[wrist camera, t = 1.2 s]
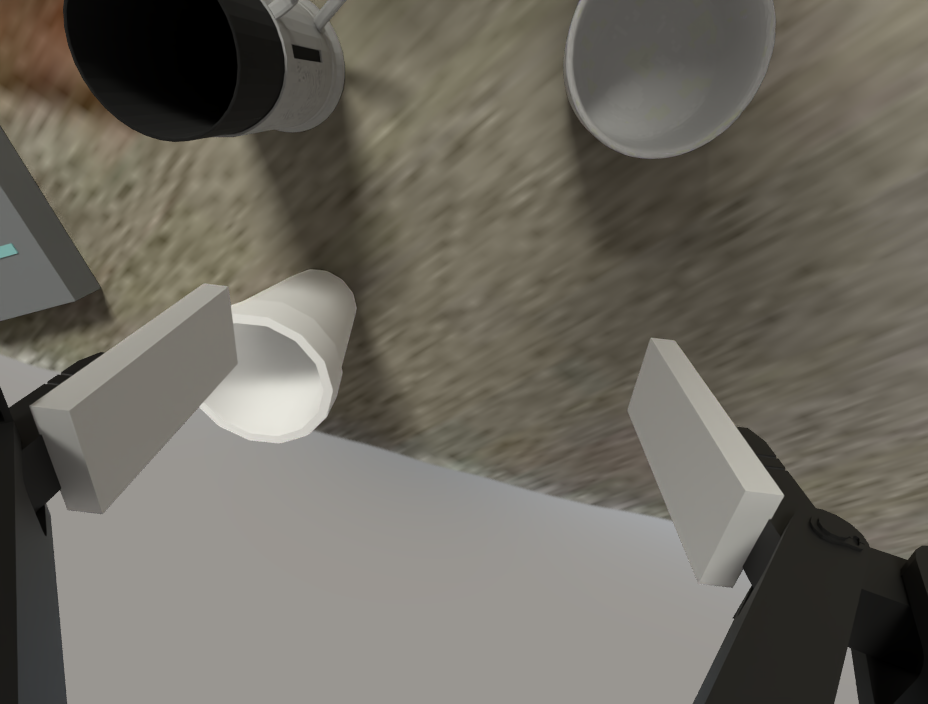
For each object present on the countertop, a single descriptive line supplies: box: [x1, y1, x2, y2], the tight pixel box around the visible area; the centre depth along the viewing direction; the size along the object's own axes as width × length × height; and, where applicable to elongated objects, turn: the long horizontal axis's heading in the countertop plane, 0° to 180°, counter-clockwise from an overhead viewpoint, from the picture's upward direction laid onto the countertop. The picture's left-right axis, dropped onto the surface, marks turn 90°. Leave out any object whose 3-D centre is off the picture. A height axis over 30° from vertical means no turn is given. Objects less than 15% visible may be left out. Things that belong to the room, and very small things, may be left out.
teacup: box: [563, 0, 776, 159], centre depth 30 cm, size 14×11×8 cm
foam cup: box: [199, 269, 357, 443], centre depth 37 cm, size 10×9×13 cm
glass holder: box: [63, 0, 346, 142], centre depth 27 cm, size 9×14×15 cm, turn 118°
